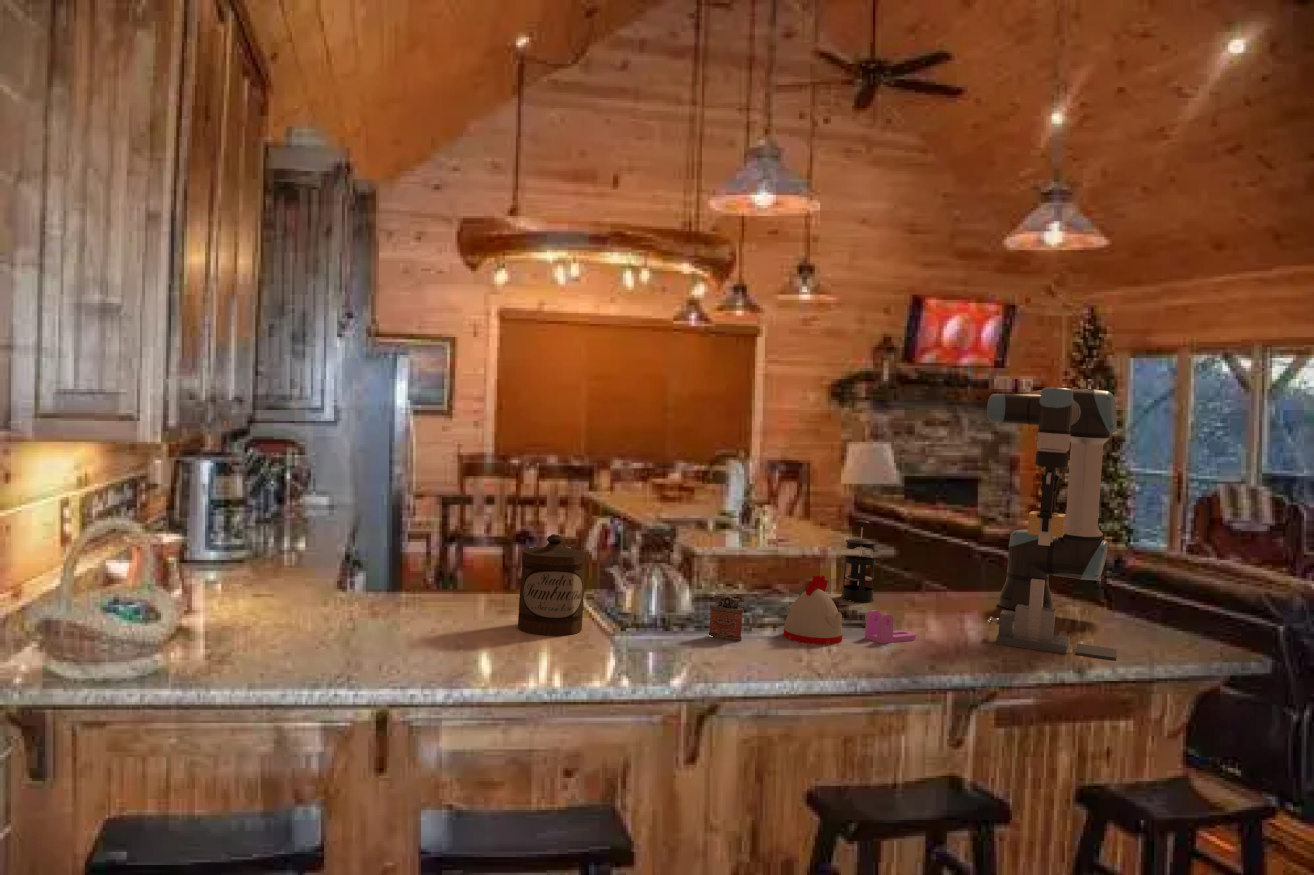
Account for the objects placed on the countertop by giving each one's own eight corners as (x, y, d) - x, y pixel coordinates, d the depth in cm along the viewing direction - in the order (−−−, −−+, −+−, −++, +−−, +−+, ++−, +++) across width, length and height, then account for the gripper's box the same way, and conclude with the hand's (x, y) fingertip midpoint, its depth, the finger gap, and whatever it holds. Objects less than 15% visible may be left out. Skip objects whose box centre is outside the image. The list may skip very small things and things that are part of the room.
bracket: (880, 643, 260) (882, 614, 260) (864, 638, 265) (866, 610, 265) (920, 640, 267) (922, 612, 267) (904, 635, 272) (906, 607, 271)
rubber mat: (1077, 645, 271) (1077, 643, 271) (1116, 651, 268) (1116, 648, 268) (1075, 654, 261) (1075, 652, 261) (1116, 660, 257) (1116, 657, 257)
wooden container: (520, 635, 245) (526, 538, 244) (515, 621, 259) (520, 529, 258) (586, 636, 248) (591, 540, 247) (577, 622, 262) (582, 531, 261)
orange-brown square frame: (1030, 530, 273) (1031, 511, 273) (1064, 534, 270) (1065, 514, 270) (1027, 533, 266) (1028, 513, 266) (1062, 537, 263) (1063, 516, 263)
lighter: (743, 639, 254) (746, 597, 254) (738, 642, 251) (741, 599, 251) (711, 634, 258) (714, 592, 257) (706, 637, 255) (708, 594, 254)
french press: (877, 603, 312) (883, 523, 311) (845, 601, 312) (850, 521, 311) (867, 595, 324) (873, 518, 323) (836, 594, 324) (841, 517, 323)
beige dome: (853, 640, 262) (857, 578, 261) (820, 647, 252) (824, 583, 251) (805, 629, 271) (809, 569, 271) (772, 635, 261) (776, 573, 261)
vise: (989, 633, 279) (994, 571, 279) (1068, 644, 272) (1073, 580, 271) (983, 642, 268) (988, 577, 268) (1066, 654, 261) (1071, 587, 260)
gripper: (1039, 448, 278) (1033, 537, 279) (1032, 450, 259) (1025, 546, 260) (1071, 451, 275) (1064, 540, 276) (1066, 453, 256) (1058, 549, 257)
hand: (1045, 543), depth 268 cm, fingers closed on orange-brown square frame, 8 cm apart
